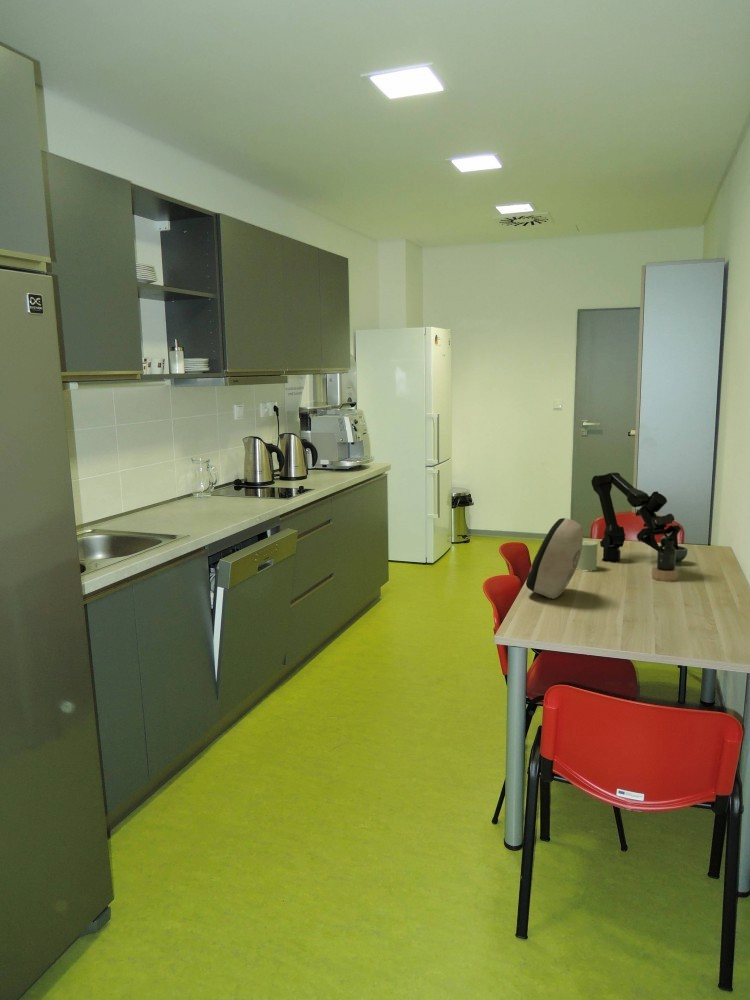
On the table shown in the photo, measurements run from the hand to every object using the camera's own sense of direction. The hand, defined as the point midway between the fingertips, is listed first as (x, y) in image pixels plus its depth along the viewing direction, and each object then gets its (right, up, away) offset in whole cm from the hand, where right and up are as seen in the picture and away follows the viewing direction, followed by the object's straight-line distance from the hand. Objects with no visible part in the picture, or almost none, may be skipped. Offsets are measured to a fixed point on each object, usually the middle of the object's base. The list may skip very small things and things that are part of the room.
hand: (668, 550), depth 291 cm
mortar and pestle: (+13, -8, +27) cm, 31 cm away
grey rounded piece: (-50, -16, -17) cm, 55 cm away
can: (-28, -10, +20) cm, 35 cm away
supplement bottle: (0, -8, +3) cm, 8 cm away
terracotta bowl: (0, -12, +3) cm, 12 cm away
